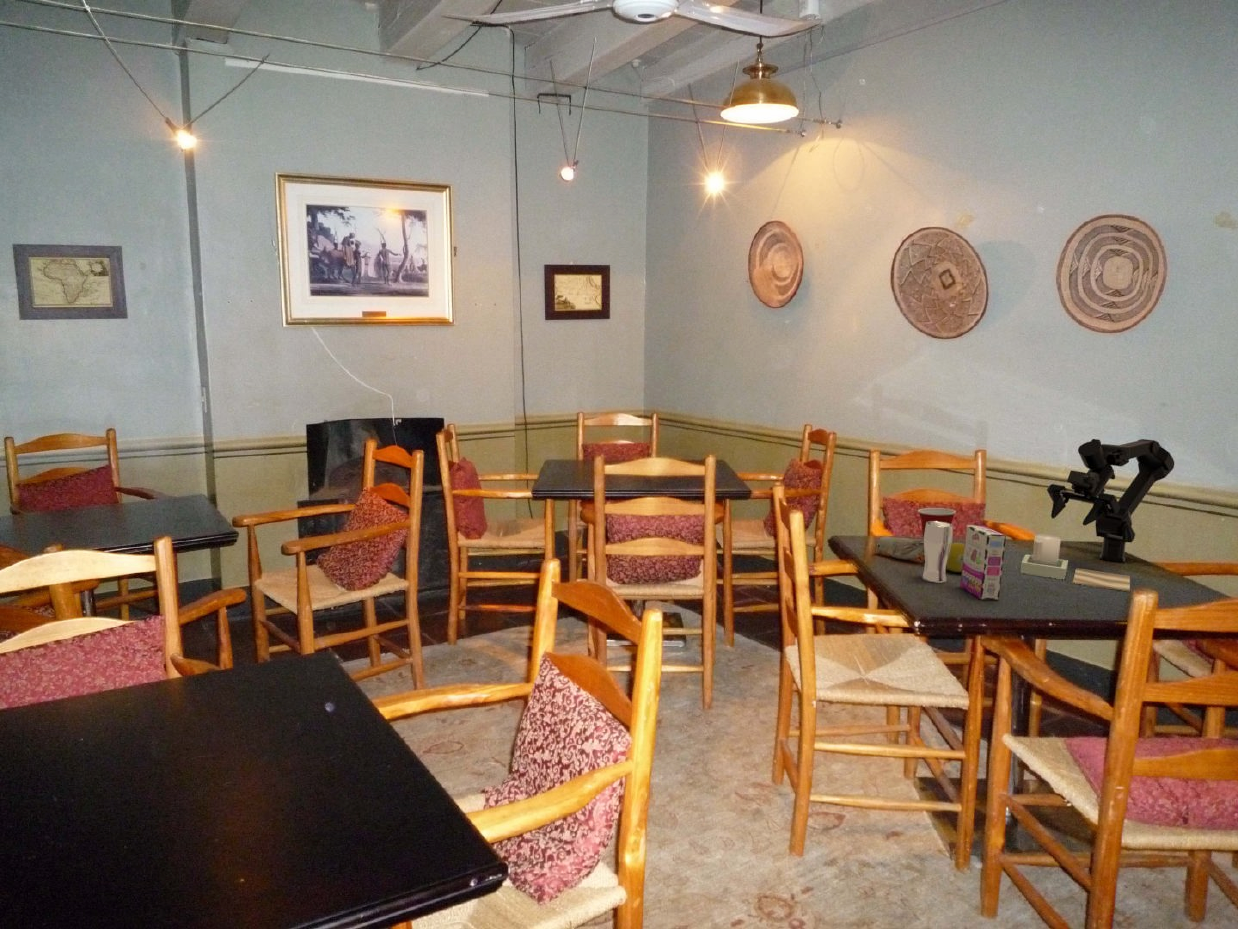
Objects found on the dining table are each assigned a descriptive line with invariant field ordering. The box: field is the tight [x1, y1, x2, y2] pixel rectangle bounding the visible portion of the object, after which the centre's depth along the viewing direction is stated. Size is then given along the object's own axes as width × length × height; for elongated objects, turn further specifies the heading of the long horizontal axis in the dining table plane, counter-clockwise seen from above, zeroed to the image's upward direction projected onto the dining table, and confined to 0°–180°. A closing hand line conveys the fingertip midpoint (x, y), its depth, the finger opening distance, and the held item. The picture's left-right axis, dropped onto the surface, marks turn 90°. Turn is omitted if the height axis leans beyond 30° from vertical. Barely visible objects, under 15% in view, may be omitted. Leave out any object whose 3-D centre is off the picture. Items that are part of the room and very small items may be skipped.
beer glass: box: [921, 521, 953, 584], centre depth 226 cm, size 7×7×15 cm
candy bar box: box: [960, 524, 1007, 601], centre depth 215 cm, size 11×5×16 cm, turn 5°
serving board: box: [1072, 567, 1131, 593], centre depth 232 cm, size 16×13×1 cm
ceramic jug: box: [1032, 533, 1062, 567], centre depth 237 cm, size 8×6×10 cm
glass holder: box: [1020, 554, 1069, 581], centre depth 238 cm, size 11×11×3 cm
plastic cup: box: [917, 507, 957, 540], centre depth 260 cm, size 11×11×12 cm
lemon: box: [946, 542, 965, 573], centre depth 235 cm, size 11×8×8 cm
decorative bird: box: [875, 535, 925, 565], centre depth 246 cm, size 5×16×8 cm, turn 44°
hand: (1067, 521), depth 240 cm, fingers open, 9 cm apart
